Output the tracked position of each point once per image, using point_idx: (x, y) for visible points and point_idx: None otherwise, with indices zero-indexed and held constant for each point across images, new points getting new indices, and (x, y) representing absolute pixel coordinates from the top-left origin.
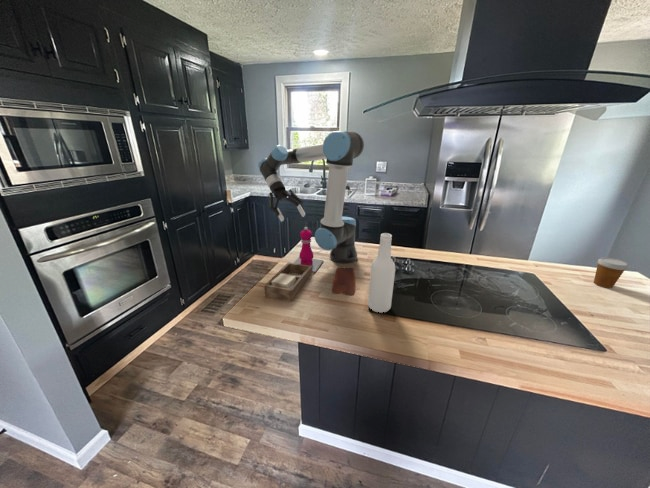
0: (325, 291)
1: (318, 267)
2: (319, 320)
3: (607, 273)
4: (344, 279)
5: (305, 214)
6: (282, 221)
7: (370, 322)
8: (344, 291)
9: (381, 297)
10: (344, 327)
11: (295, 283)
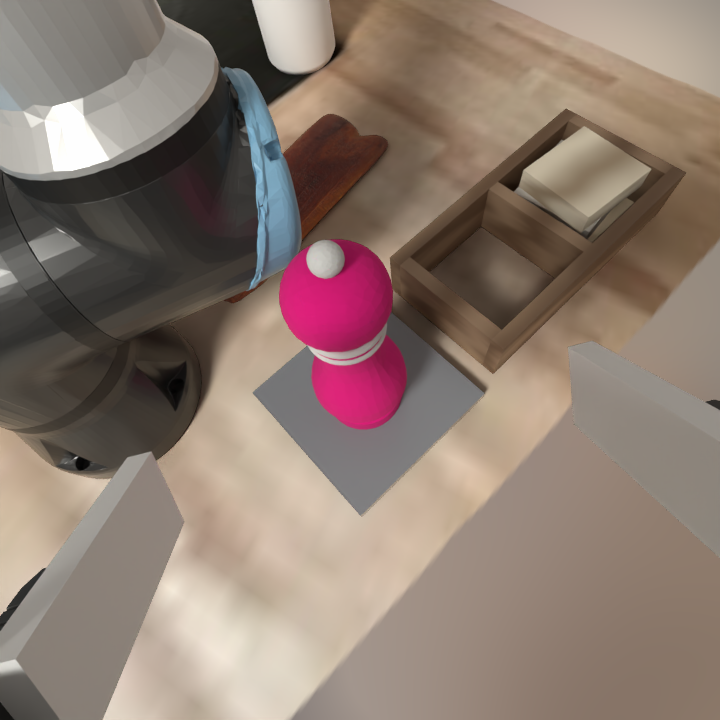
0: (405, 163)
1: None
2: (499, 56)
3: None
4: None
5: (132, 462)
6: (574, 417)
7: (373, 19)
8: (346, 131)
9: None
10: (447, 22)
11: (535, 145)
